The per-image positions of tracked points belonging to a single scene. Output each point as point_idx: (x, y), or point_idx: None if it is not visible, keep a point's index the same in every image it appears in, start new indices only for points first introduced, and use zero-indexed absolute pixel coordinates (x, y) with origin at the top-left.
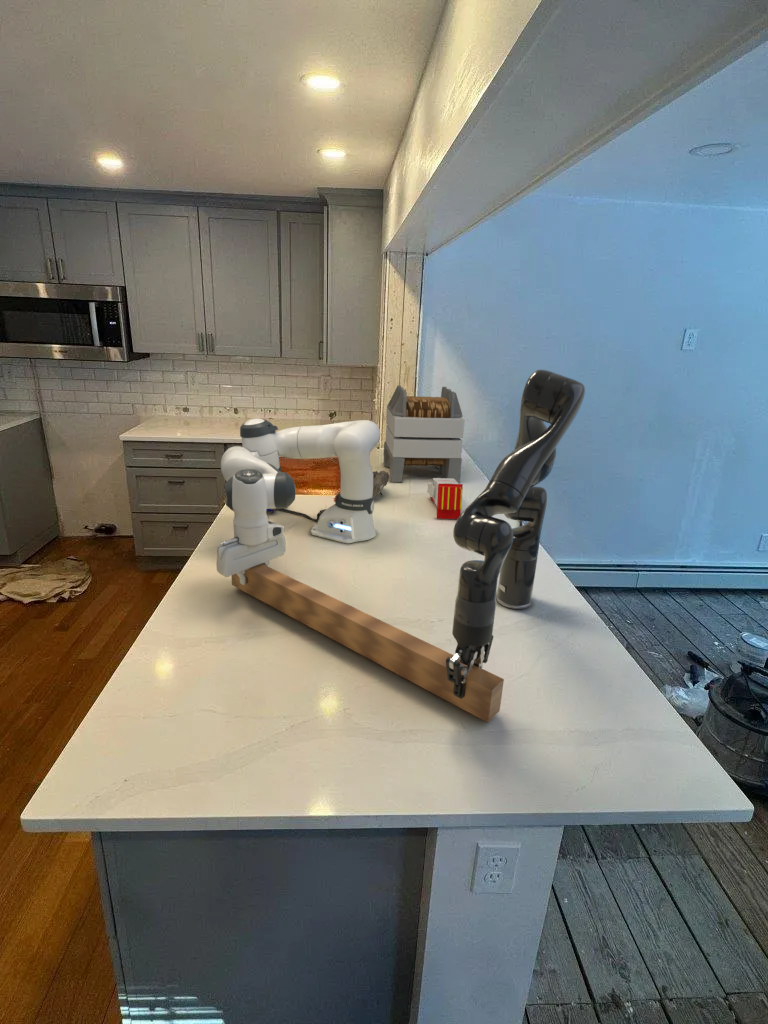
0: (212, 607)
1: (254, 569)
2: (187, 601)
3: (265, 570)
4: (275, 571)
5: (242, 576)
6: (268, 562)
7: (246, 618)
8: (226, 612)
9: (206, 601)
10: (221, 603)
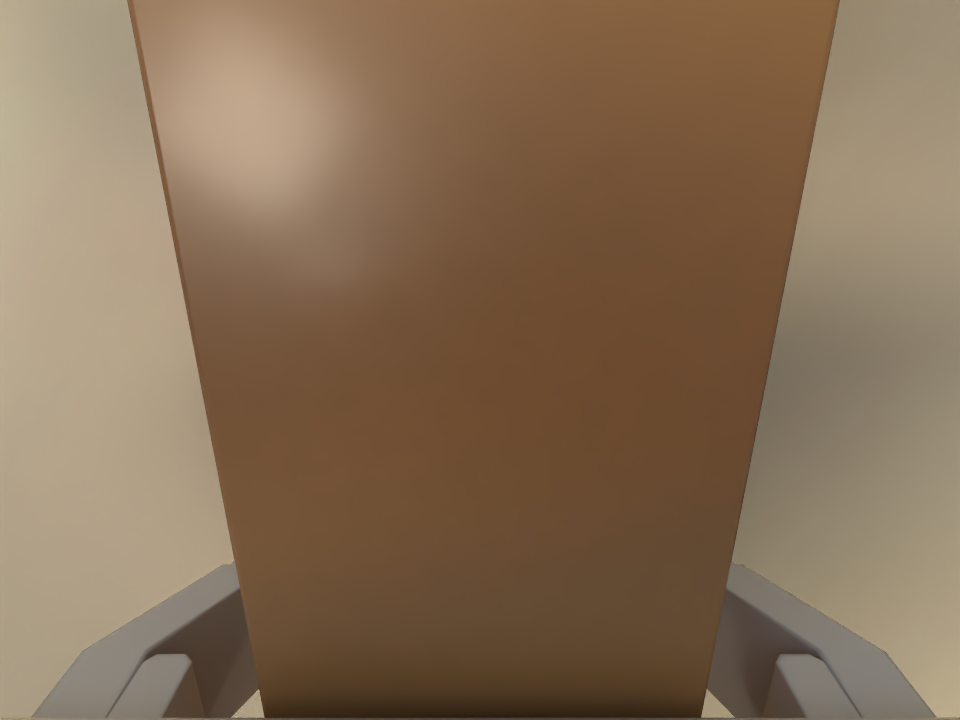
0: (925, 490)
1: (629, 616)
2: (947, 690)
3: (445, 377)
4: (215, 54)
5: (800, 613)
6: (77, 688)
7: (939, 30)
8: (938, 321)
9: (862, 602)
10: (816, 493)
